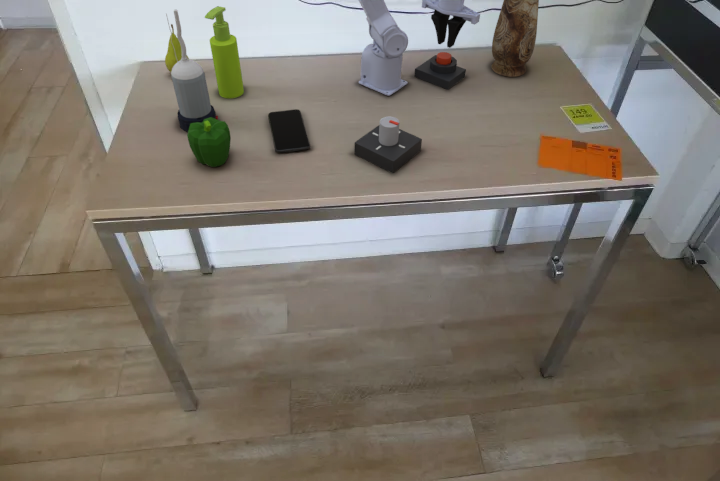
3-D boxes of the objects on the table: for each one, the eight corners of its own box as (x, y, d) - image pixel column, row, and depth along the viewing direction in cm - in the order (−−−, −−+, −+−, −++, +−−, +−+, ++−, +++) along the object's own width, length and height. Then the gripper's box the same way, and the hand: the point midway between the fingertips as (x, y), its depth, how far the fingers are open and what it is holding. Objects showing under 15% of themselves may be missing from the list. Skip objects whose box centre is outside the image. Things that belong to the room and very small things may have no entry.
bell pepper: (195, 148, 118) (186, 106, 111) (235, 147, 118) (228, 105, 111) (190, 173, 112) (179, 130, 105) (231, 171, 112) (224, 129, 105)
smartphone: (311, 150, 118) (300, 111, 128) (310, 146, 117) (300, 108, 128) (275, 154, 117) (267, 115, 127) (275, 151, 116) (267, 111, 126)
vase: (532, 79, 141) (564, -49, 120) (489, 78, 141) (514, -50, 120) (523, 59, 148) (553, -65, 127) (483, 58, 148) (506, -66, 127)
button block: (414, 76, 141) (415, 61, 138) (432, 64, 145) (433, 49, 143) (448, 89, 136) (450, 74, 134) (465, 76, 141) (468, 62, 138)
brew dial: (375, 142, 115) (376, 122, 112) (385, 132, 118) (386, 112, 114) (391, 148, 114) (393, 128, 110) (401, 138, 116) (403, 118, 113)
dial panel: (354, 154, 117) (354, 141, 115) (383, 133, 123) (383, 121, 121) (392, 173, 113) (393, 160, 111) (420, 150, 119) (422, 138, 116)
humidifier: (223, 126, 124) (202, 13, 106) (187, 136, 121) (159, 23, 103) (209, 108, 129) (187, -2, 111) (174, 118, 126) (146, 7, 108)
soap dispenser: (211, 97, 132) (195, 13, 118) (227, 83, 137) (213, 1, 123) (233, 102, 131) (219, 18, 117) (248, 88, 135) (237, 5, 121)
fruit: (173, 82, 137) (161, 35, 128) (165, 72, 140) (153, 25, 132) (195, 76, 139) (186, 29, 130) (187, 66, 142) (177, 20, 134)
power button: (433, 62, 139) (434, 55, 137) (441, 57, 141) (442, 50, 139) (445, 67, 137) (446, 60, 136) (453, 61, 139) (454, 55, 138)
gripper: (490, -11, 125) (480, 47, 135) (436, -27, 131) (429, 30, 141) (474, -1, 121) (465, 58, 131) (419, -18, 127) (413, 39, 137)
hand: (445, 44), depth 136 cm, fingers closed
